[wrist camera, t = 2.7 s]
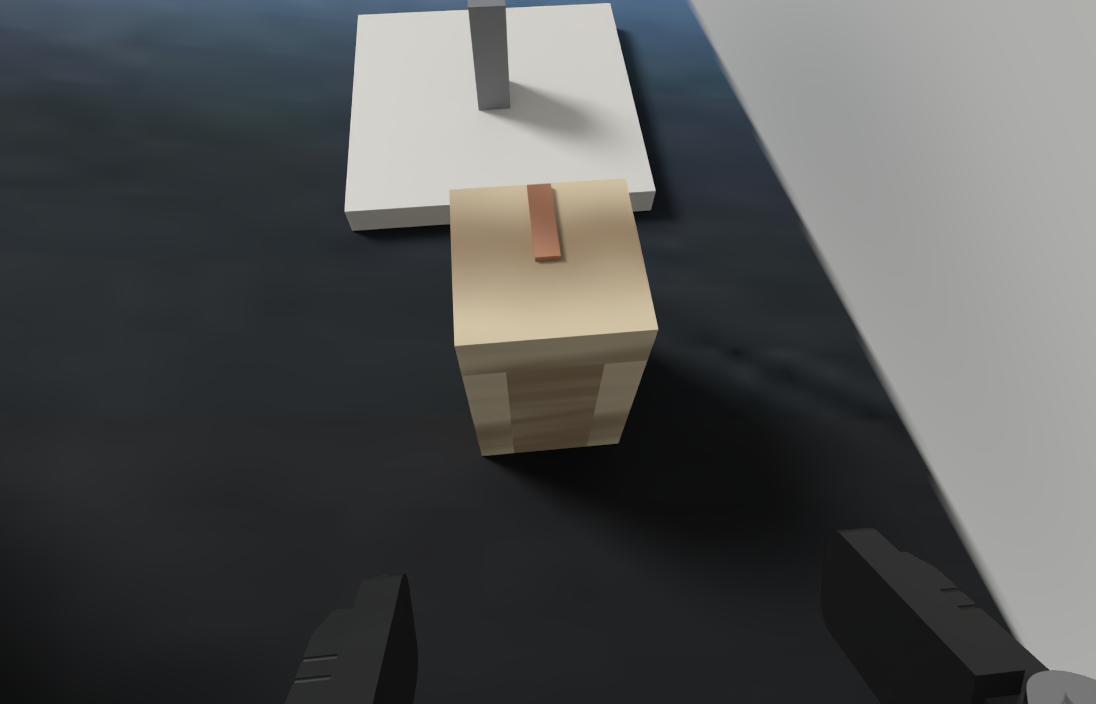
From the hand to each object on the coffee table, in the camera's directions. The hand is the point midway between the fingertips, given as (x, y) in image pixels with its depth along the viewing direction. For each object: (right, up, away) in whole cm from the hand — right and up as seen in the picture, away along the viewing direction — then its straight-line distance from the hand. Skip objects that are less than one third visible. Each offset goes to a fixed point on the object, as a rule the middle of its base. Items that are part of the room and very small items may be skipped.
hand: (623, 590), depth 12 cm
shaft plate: (-5, +19, +25) cm, 31 cm away
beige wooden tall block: (-2, +3, +17) cm, 17 cm away
